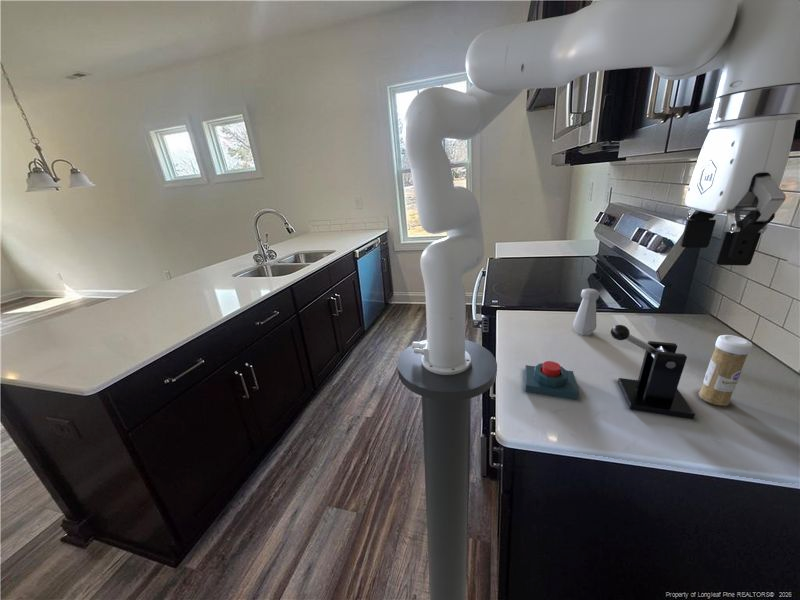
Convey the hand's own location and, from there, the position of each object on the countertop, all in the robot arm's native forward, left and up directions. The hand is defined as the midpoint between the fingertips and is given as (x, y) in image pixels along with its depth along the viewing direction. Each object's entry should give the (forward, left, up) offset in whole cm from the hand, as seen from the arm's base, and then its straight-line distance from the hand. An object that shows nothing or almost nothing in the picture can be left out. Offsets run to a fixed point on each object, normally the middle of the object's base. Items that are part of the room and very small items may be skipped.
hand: (710, 255), depth 43 cm
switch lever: (-2, +11, -22) cm, 25 cm away
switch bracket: (+3, +11, -32) cm, 35 cm away
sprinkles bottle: (+14, +14, -33) cm, 38 cm away
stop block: (-16, +11, -32) cm, 38 cm away
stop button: (-16, +11, -29) cm, 35 cm away
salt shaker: (-5, +39, -33) cm, 51 cm away
